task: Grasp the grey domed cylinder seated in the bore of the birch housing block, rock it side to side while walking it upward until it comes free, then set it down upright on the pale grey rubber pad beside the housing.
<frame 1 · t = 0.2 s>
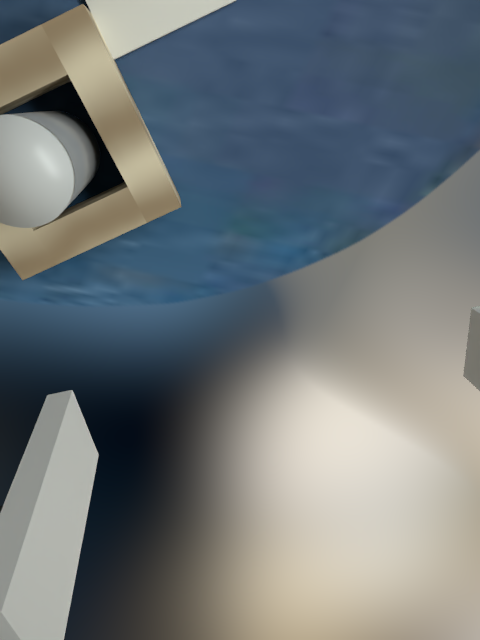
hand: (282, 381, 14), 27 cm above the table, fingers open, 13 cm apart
housing: (61, 152, 35), on the table
grey domed cylinder: (42, 161, 30), in the housing
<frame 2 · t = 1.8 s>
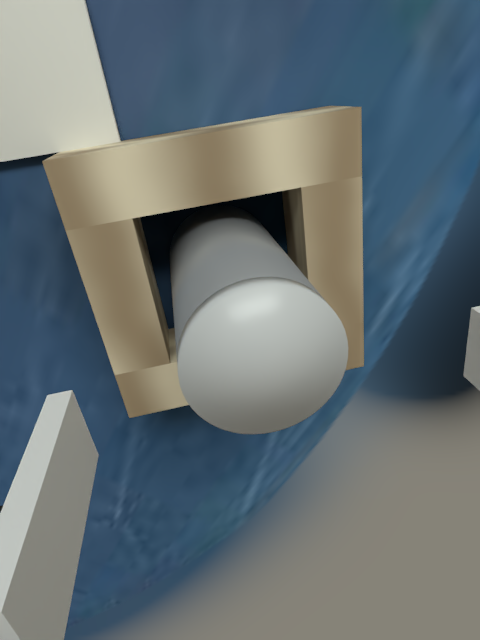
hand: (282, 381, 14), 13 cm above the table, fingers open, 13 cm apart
housing: (220, 256, 26), on the table
grey domed cylinder: (237, 297, 20), in the housing
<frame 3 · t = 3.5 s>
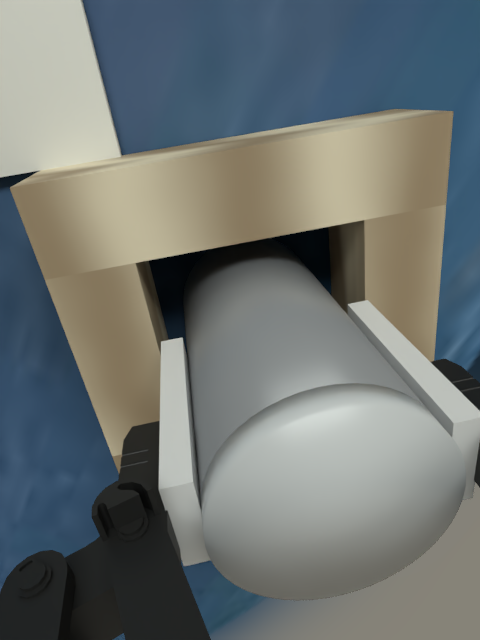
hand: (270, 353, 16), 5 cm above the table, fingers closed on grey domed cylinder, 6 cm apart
housing: (248, 298, 20), on the table
grey domed cylinder: (277, 369, 15), in the housing, touching gripper
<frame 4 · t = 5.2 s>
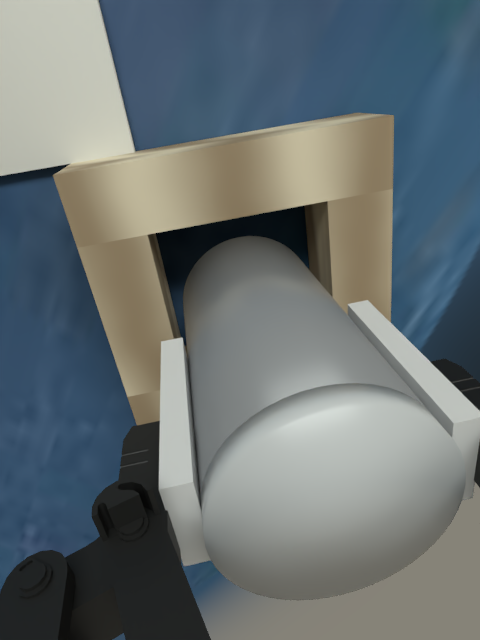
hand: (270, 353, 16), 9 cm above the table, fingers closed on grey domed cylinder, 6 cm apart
housing: (239, 271, 24), on the table
grey domed cylinder: (277, 369, 15), point 10 cm above the table, touching gripper
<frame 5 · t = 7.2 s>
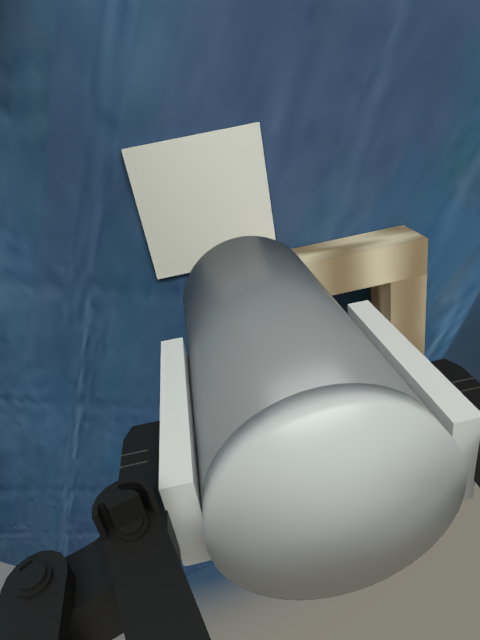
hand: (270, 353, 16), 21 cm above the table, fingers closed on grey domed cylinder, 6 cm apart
housing: (329, 315, 40), on the table
grey domed cylinder: (277, 369, 15), point 22 cm above the table, touching gripper
pad: (204, 204, 34), on the table
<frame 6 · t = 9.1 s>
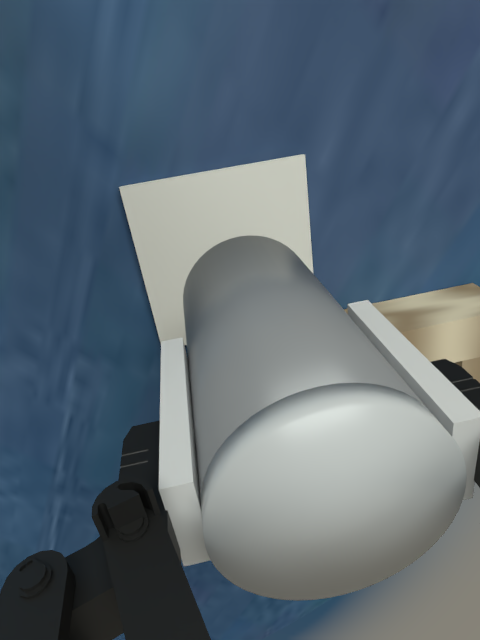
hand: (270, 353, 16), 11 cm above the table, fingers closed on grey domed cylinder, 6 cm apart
housing: (373, 388, 32), on the table
grey domed cylinder: (277, 368, 15), point 12 cm above the table, touching gripper
pad: (227, 257, 26), on the table
when the fingers open (7 cm above the table, at t = 10.7 s): grey domed cylinder drops 2 cm, resting on pad.
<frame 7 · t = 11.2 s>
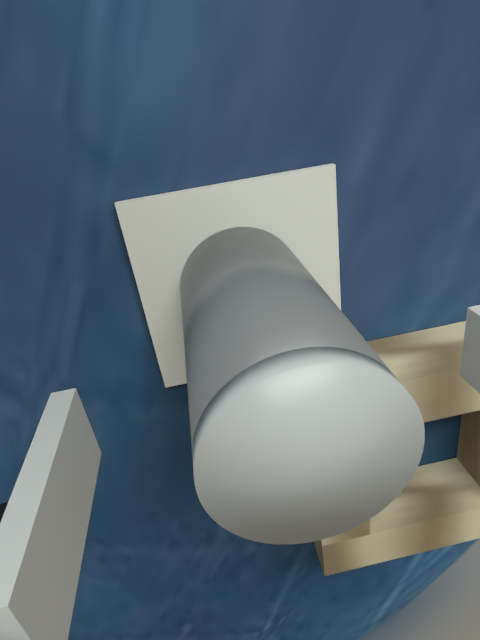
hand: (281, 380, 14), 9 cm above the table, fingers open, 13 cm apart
housing: (403, 426, 28), on the table
grey domed cylinder: (265, 346, 16), on the pad
pad: (241, 283, 22), on the table
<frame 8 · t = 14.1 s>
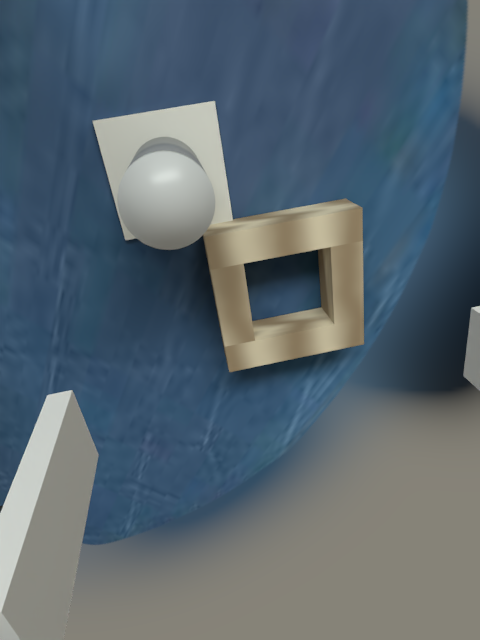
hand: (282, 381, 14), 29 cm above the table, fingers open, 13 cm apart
housing: (281, 280, 44), on the table
grey domed cylinder: (166, 186, 32), on the pad
pad: (167, 173, 38), on the table
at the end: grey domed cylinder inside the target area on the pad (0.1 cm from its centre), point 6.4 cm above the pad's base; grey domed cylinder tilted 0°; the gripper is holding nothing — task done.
